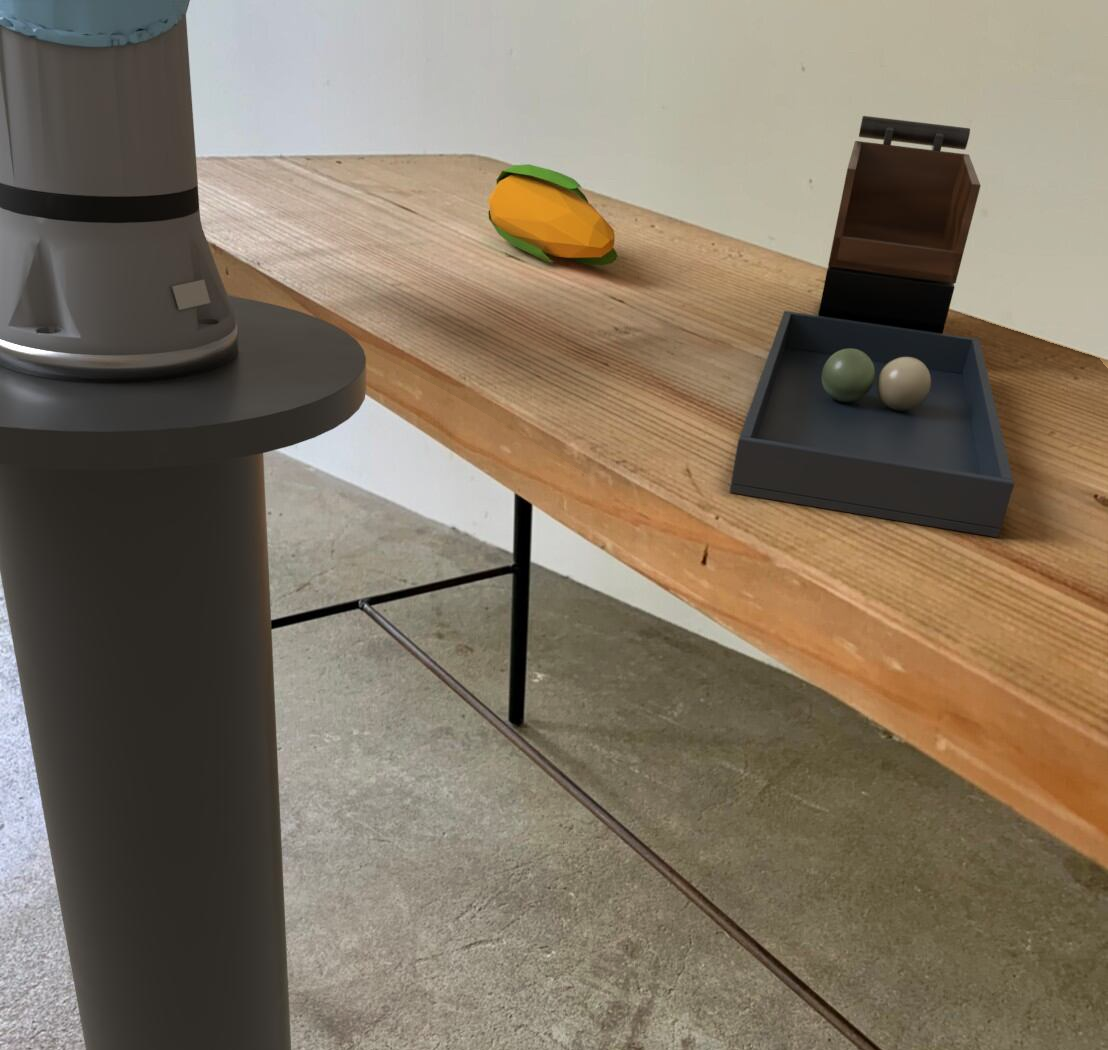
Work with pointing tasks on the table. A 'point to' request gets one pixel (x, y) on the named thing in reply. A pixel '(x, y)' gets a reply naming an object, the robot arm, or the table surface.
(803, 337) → the tray
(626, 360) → the table surface
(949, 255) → the brown wooden tipping box
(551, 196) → the corn
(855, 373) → the ball sage
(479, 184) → the table surface
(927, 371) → the ball ivory
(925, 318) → the stand
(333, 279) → the table surface
